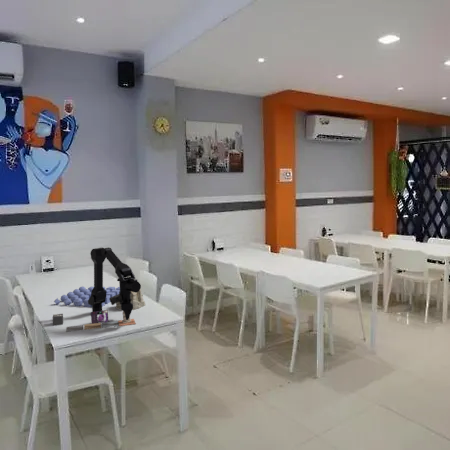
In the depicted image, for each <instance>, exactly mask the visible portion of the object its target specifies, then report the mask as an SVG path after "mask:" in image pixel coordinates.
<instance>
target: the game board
mask: <svg viewBox="0 0 450 450" xmlns="http://www.w3.org/2000/svg"><path fill="white" fill-rule="evenodd" d="M122 320H123V319H121V320H113V321H112V320H111V321H109V322H108V321H107V322H105V321H103V322H98V323H94V324H92V323H87V324H79V325H69V326H66V327H65V328H66V330H65V332H66V333H68V332H78V331H84V330H85V331H86V330H95V329H101V328H111V327H114V328H116V327H123V326H130V325H131V326H132V325H136V321H135V318H130V320H131V322H130V323H122Z"/></svg>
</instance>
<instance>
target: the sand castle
mask: <svg viewBox="0 0 450 450" xmlns="http://www.w3.org/2000/svg"><path fill="white" fill-rule="evenodd" d="M141 288H142V287H141ZM141 288H140V290H139V291H138V292H131V301H130V302H132V303H133V309H132V311H134V310H136V311H137V310H139V309H141V308H143V307H144V306H146V302H145V300H144V295H143V294H142V289H141ZM115 309H116V310H120V311H122V310H121V304H120V303H119V302H118V303H115Z"/></svg>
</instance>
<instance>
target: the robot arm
mask: <svg viewBox="0 0 450 450" xmlns="http://www.w3.org/2000/svg"><path fill="white" fill-rule="evenodd" d="M89 254H90V259H91V261H92V262H93V287H94V288H93V290H92V291H91V297H90V298H89V300H88V304H89V305H92V306H91V312H96V311H104V310H103V307H102V303H104V302H105V300H106V297H107V296H106V290H105V289H106V288H105V289H104V288H103V287H104V262H105V261H106V260H107V261H108V263H110V264H111V266H112V267H113V268H114V272H115V274H116V276H117V277H118V278H117V279H116V281H117V282H119V287H120V292H119V294H118V295H115V296H113V297H111V298H109V300H110V304H111V305H112V306H114V305H116V303H118V302H119V303H120V304H121V310H120V311H122V312H123V311H124V313H125V317H126V320H128V319H129V317H130V318H131V314H132V312H133V310H132V309H133V303H132V302H130V301H131V292H138V291H139V290H140V288H142V286H141V283H140V281H138V279H136V276H135V273H134V271H133V269H132V268H131V267H130V265H128V264H126V263H124V262H122V261H121V259H120V258H119V257H118V256H117V254H115V252H114V251H113V249H112V248H111V247H97V248H92V249H91V250H90V253H89ZM101 314H103V315H104V313H101ZM101 314H100V313H99V312H97V316H99V315H101Z"/></svg>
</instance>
